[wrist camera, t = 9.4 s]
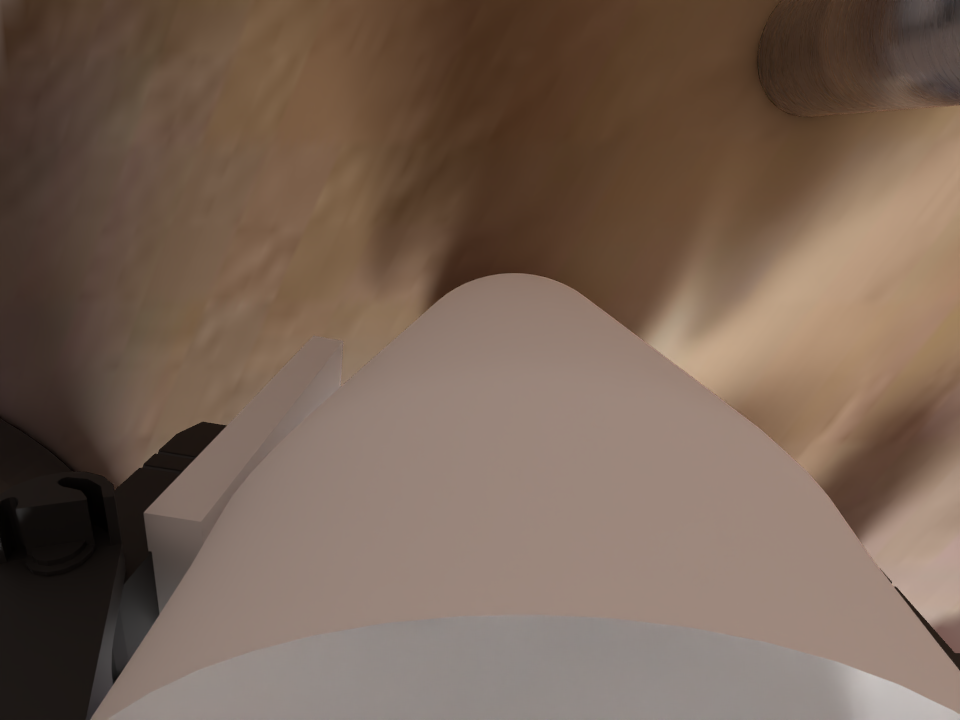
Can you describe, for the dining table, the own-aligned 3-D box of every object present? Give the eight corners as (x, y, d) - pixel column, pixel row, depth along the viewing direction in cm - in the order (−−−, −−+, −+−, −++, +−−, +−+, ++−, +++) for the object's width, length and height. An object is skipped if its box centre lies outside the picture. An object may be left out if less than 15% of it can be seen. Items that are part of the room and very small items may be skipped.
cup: (396, 188, 13) (-104, 408, 2) (714, 277, 14) (1500, 790, 3) (345, 460, 17) (53, 1049, 6) (600, 522, 18) (760, 1165, 7)
